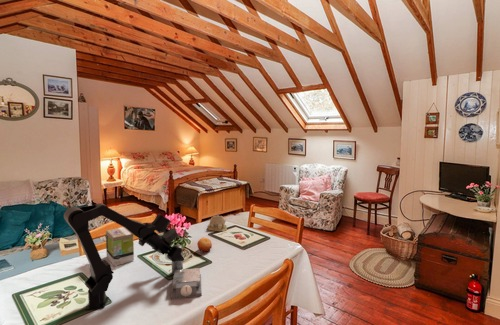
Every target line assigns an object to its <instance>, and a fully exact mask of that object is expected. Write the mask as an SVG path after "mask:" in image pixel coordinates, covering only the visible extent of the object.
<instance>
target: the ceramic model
mask: <svg viewBox="0 0 500 325" xmlns="http://www.w3.org/2000/svg"><path fill="white" fill-rule="evenodd" d="M206 227H207V230H209V231H215V232H224V231H225V232H226V231H227V230H228V228H227V225H226V218H224V216H222V215H219V214H216V215H213V216H212V217H211V218H210V220H209V223H208V225H207V226H206Z"/></svg>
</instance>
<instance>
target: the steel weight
mask: <svg viewBox="0 0 500 325" xmlns="http://www.w3.org/2000/svg"><path fill="white" fill-rule="evenodd" d="M175 245H176V246H178V247H180V248H181V249H183V245H181V244H174V245H171V247H173V246H175ZM183 252H184V251H182V252H181V255H182V256H183ZM183 257H184V256H183ZM183 262H184V261H175V262H173V261H171V274H172V275H173V274H174V271H175V270H183V269H184V267H183V266H184V264H183Z"/></svg>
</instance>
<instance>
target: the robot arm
mask: <svg viewBox="0 0 500 325" xmlns="http://www.w3.org/2000/svg"><path fill="white" fill-rule="evenodd" d="M102 216H103V217H104V218H106V219H107V220H110V221H112V222H114V223H116V224H117V225H120V226H121V227H125V228H126V229H127V230H128V231H129V232H130V233H132V234H133V236H135V237H137V238H138V245H139V246H141V247H144V246H145V245H146V244H147V245H148V246H150V247H151V248H152V250H154V251H155V252H157V253H158V254H162V255H167V256H166V258H167V259H168V260H170V261H171V262H172V261H173V262H175V261H183V262H184V261H185V258H184V256H182V255H181V252H184V251H183V248H182V249H181V248H180V247H178V246H176V245H177V244H174V245H175V246H174V245H172V244H173V241H174V240H175V239H178V238H179V233H178V232H177V229H174V228H168V226H170V224H171V220H170V219H169V218H167V217H165V216H164V215H162V213H161V214H160V213H158V214H157V215H156V216H155V218H154V220H153V221H152V222H151V223H150V222H141V221H139V220H135V219H131V218H128V217H127V216H124V215H122V214H120V213H119V212H117V211H116V210H113V209H111V208H110V207H108V206H107V205H106V204H104V203H96V204H92V205H85V206H84V205H83V206H80V207H77V206H71V207H69V208H67V209H66V210H65V212H64V214H63V219H64V220H65V221H66V223H67V224H68V225H69V227H70V228H71V229H72V230H73V232H74V233H75V235H76V237H77V239H78V241H79V243H80V246H81V248H82V250H83V252H84V255H85V256H86V259H87V261H88V263H89V274H90V276H89V277H88V278H87V279H86V281H85V282H84V284H85V287H86V288H87V295H88V296H87V297H88V298H87V300H88V303H87V304H86V306H85V308H84V310H85V311H90V310H99V309H104V308H105V307H106V305H107V304H108V301H109V299H110V297H109V296H107V297H106V292H107V291H108V289H109V285H110V284H111V282H112V280H113V279H114V278H113V277H114V276H113V274H114V271H113V270H112V266H111V264H110V263H109V262H108V261H107V260H106V259H102V257H101V255H100V253H99V251H98V248H97V246H96V244H95V241H94V239H93V237H92V234H91V233H90V230H89V227H90V226H89V224H90V223H89V222H90V221H92V220H95V219H97V218H99V217H102ZM161 234H163V235H161ZM172 246H173V247H172Z"/></svg>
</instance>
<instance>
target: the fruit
mask: <svg viewBox="0 0 500 325" xmlns="http://www.w3.org/2000/svg"><path fill="white" fill-rule="evenodd" d="M212 245H213V243H212V240H210V238H208V237H201V238H200V239H199V240H198V241H197V251H198V250H199V251H200V252H202V253H206V252H207V251H210V250H211V249H212V247H213V246H212Z"/></svg>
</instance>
